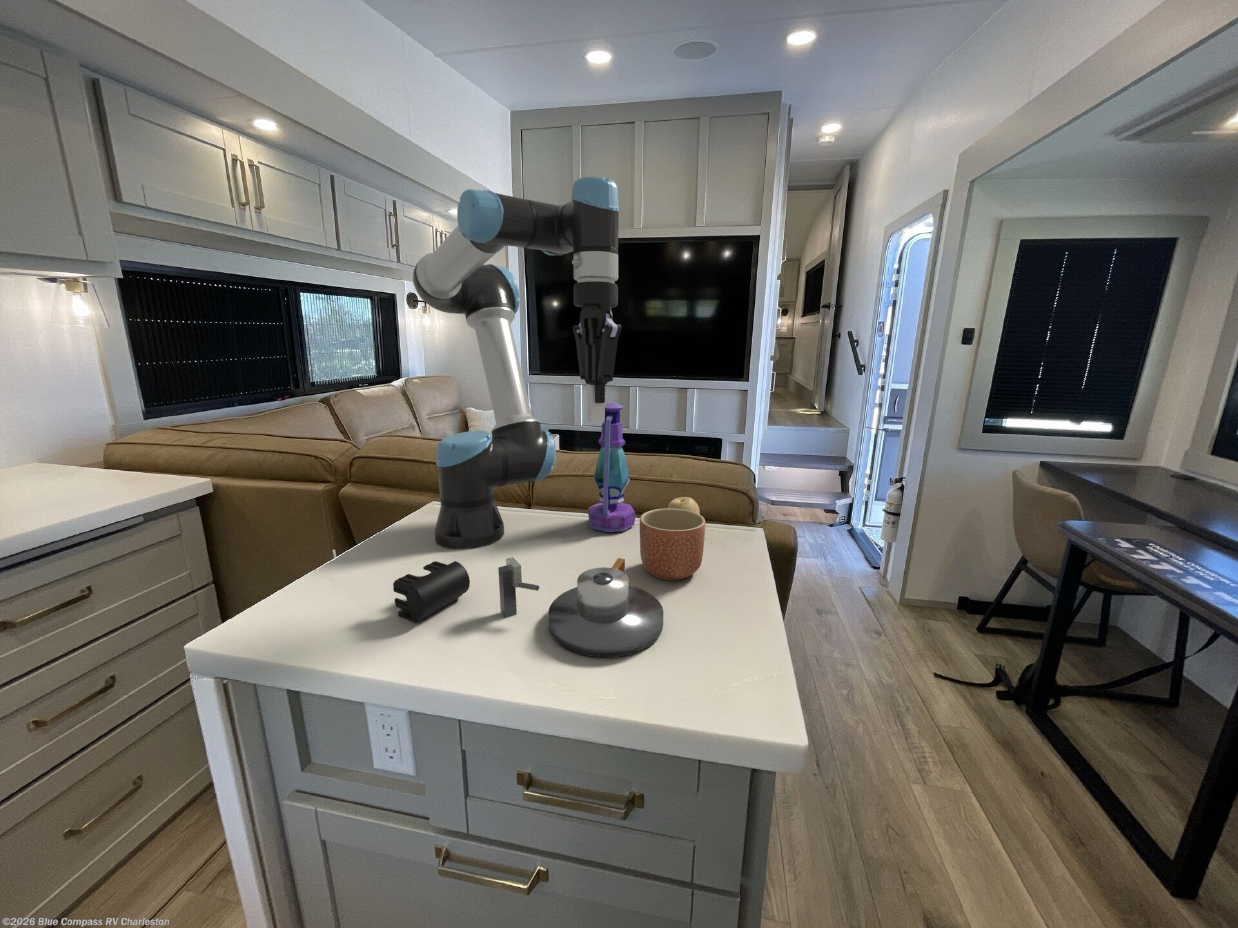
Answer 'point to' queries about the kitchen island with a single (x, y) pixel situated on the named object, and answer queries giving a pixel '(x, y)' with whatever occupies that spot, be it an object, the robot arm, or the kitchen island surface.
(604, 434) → the lantern
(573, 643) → the turntable
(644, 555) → the planter
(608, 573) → the cover
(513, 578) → the gray post with pin
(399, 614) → the end cap
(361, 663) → the kitchen island surface
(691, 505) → the apple
